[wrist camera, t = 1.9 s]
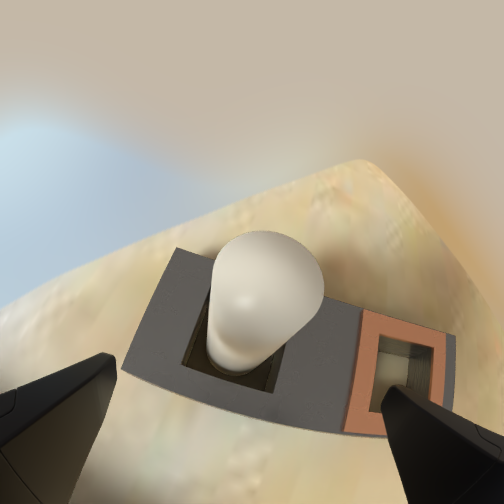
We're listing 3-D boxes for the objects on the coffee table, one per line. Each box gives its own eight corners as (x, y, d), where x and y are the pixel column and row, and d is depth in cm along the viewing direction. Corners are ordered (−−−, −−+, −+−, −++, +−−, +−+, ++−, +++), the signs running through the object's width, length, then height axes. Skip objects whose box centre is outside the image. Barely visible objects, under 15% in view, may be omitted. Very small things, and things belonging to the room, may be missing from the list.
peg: (254, 383, 18) (313, 347, 9) (198, 365, 18) (194, 310, 9) (269, 331, 20) (330, 250, 11) (216, 314, 20) (233, 217, 11)
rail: (424, 439, 16) (450, 437, 13) (132, 375, 16) (119, 368, 14) (434, 346, 21) (457, 334, 18) (178, 268, 21) (176, 244, 19)
